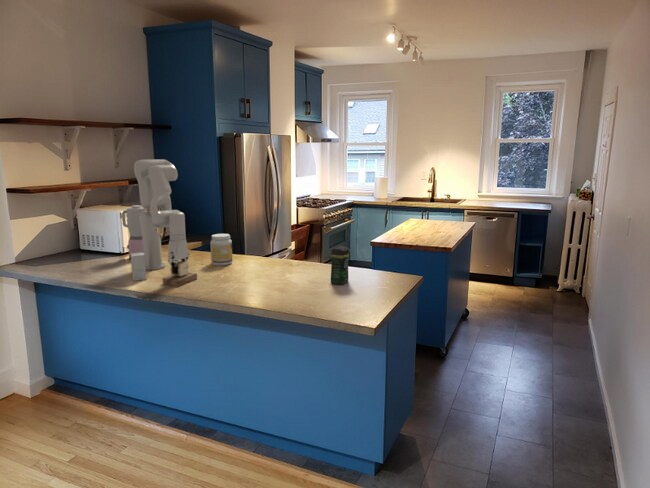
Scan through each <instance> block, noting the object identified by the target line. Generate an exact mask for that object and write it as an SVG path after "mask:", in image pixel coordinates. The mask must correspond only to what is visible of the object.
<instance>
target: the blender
mask: <svg viewBox="0 0 650 488" xmlns="http://www.w3.org/2000/svg"><path fill="white" fill-rule="evenodd" d="M144 212H148V211H147V209H144V208H143V207H142V206H141V204H140V205H137V204H136V205H135V204H134V205H131V207H127V208H126V210H123V211H122V213H121V220H122V226H123V227H125V228H128V233H129V239H128V241H127V242H128V244H127V246H126V247H127V249H128V257H129V258H128V259H129V260H131V253H138V252H143V240H142V231H141V226H140V222H139V216H140V215H141V214H142V213H144ZM126 222H127V223H126Z"/></svg>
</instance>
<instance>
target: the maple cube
mask: <svg viewBox="0 0 650 488" xmlns="http://www.w3.org/2000/svg"><path fill="white" fill-rule="evenodd" d="M174 263H175V261H174ZM169 265H170V275H175V276H183V275H185V274H188V273H190V272H189V261H187V262H185V261H181V260H178V263H177V266H178V274H173V273H172V266H171V264H170V263H169Z"/></svg>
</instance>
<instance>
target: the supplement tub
mask: <svg viewBox="0 0 650 488" xmlns="http://www.w3.org/2000/svg"><path fill="white" fill-rule="evenodd" d="M232 241H233V240H232V239H231V235H230V234H229V233H216V234H212V235H211V240H210V243H209V244H210V261H211V262H210V263H211V264H212V265H213V266H222V267H223V266H229V265H231V264H233V242H232Z"/></svg>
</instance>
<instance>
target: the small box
mask: <svg viewBox="0 0 650 488" xmlns="http://www.w3.org/2000/svg"><path fill="white" fill-rule="evenodd" d="M130 265H131V267H130V268H131V277H132V281H133V282H137V281H144V280H147V272H146V271H147V270H146V267H145V255H144V253H143V252H138V253H131V259H130Z"/></svg>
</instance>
